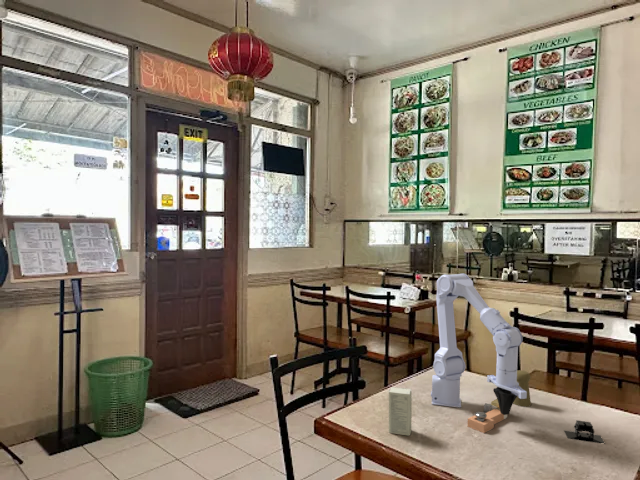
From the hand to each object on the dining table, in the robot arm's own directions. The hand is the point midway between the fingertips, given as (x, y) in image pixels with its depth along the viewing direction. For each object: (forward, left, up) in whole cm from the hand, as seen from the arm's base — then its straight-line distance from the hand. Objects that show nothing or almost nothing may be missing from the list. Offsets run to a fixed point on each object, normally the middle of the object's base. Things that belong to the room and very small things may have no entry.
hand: (504, 413), depth 132 cm
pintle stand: (-3, +5, -4) cm, 7 cm away
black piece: (+21, +1, -5) cm, 22 cm away
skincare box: (-30, -12, -5) cm, 32 cm away
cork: (+8, +22, -5) cm, 24 cm away
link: (-4, +3, -4) cm, 6 cm away
